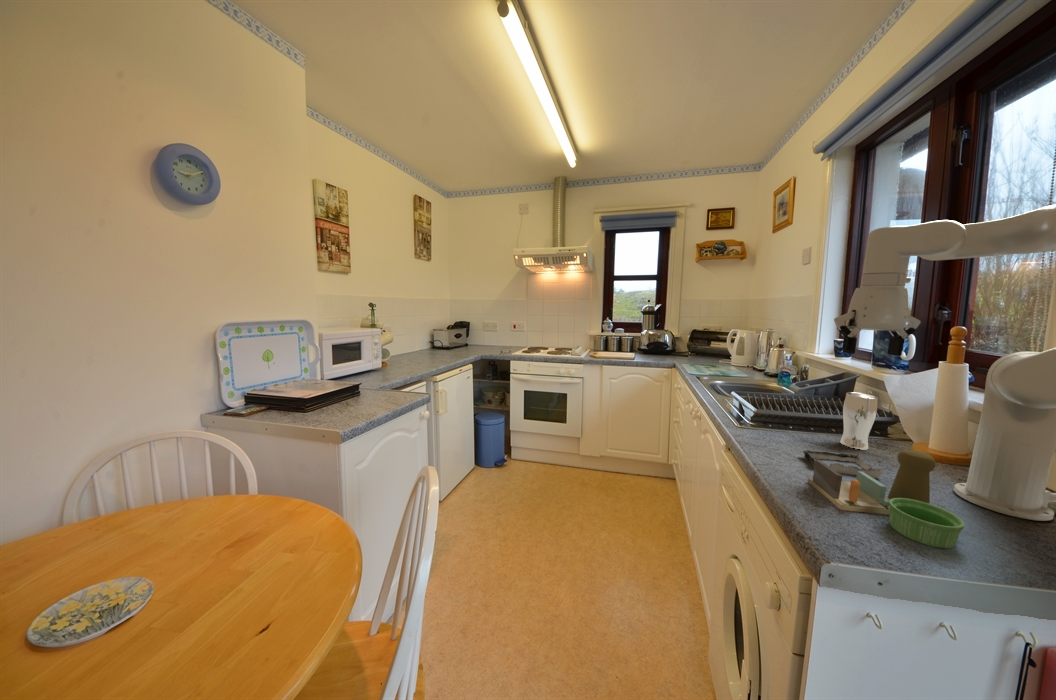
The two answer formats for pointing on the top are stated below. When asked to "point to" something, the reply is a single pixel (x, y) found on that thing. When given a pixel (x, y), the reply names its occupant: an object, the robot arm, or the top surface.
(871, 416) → the beer glass
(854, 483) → the ball-ended orange rod
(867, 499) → the stand
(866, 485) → the pad
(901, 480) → the cork
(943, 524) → the ramekin
